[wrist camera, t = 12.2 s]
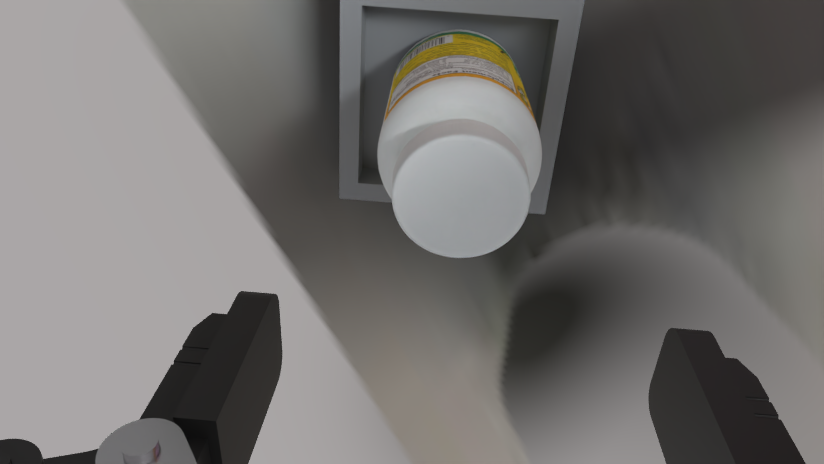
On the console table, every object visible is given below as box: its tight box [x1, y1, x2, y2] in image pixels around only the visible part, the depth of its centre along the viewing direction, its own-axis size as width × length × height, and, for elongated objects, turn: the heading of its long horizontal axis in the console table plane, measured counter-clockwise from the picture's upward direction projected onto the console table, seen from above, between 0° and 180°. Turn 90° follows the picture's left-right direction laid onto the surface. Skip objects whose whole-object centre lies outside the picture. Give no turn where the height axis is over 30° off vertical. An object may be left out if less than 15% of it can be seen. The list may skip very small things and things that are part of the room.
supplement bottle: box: [377, 29, 542, 258], centre depth 23 cm, size 5×5×10 cm
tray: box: [339, 0, 585, 214], centre depth 26 cm, size 9×9×2 cm
